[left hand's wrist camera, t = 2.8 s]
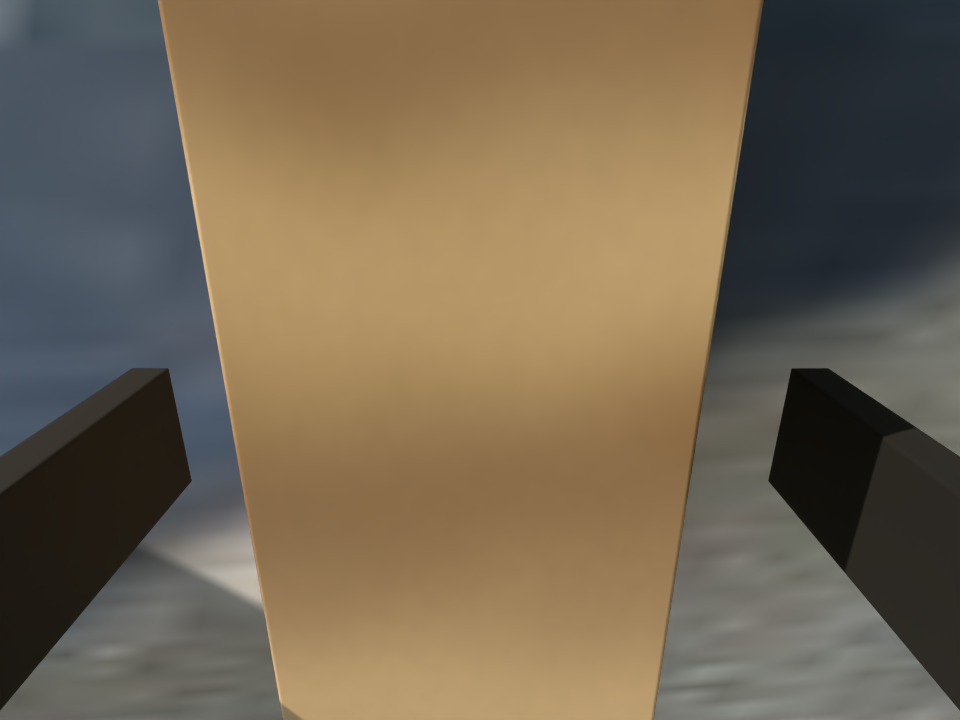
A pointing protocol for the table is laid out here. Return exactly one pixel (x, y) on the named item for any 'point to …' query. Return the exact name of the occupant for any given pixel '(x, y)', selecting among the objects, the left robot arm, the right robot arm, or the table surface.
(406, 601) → the beam
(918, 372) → the table surface
